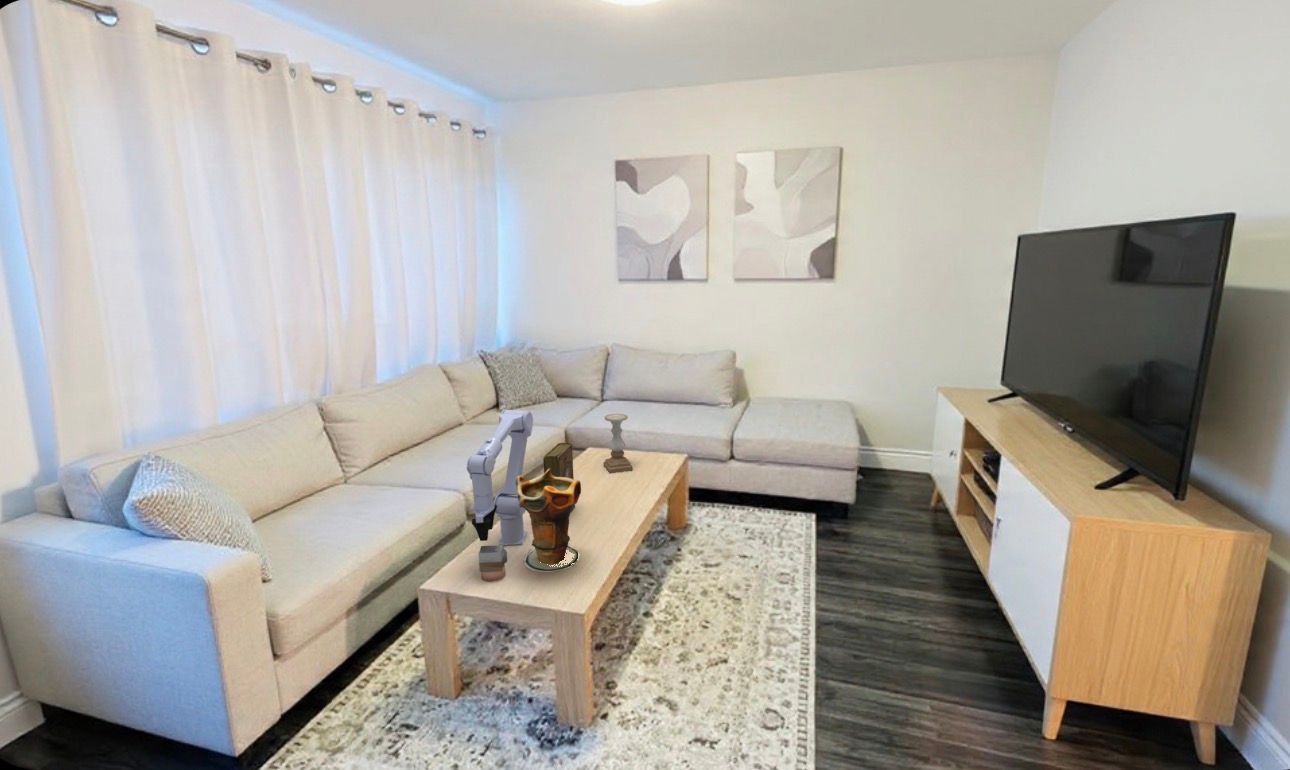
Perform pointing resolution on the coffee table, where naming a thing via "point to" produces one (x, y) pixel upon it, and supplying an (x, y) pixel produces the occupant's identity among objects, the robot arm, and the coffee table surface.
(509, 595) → the coffee table surface
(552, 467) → the book
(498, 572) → the stand
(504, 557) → the stand
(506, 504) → the robot arm
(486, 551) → the housing
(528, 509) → the decorative vase
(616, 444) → the candle holder
